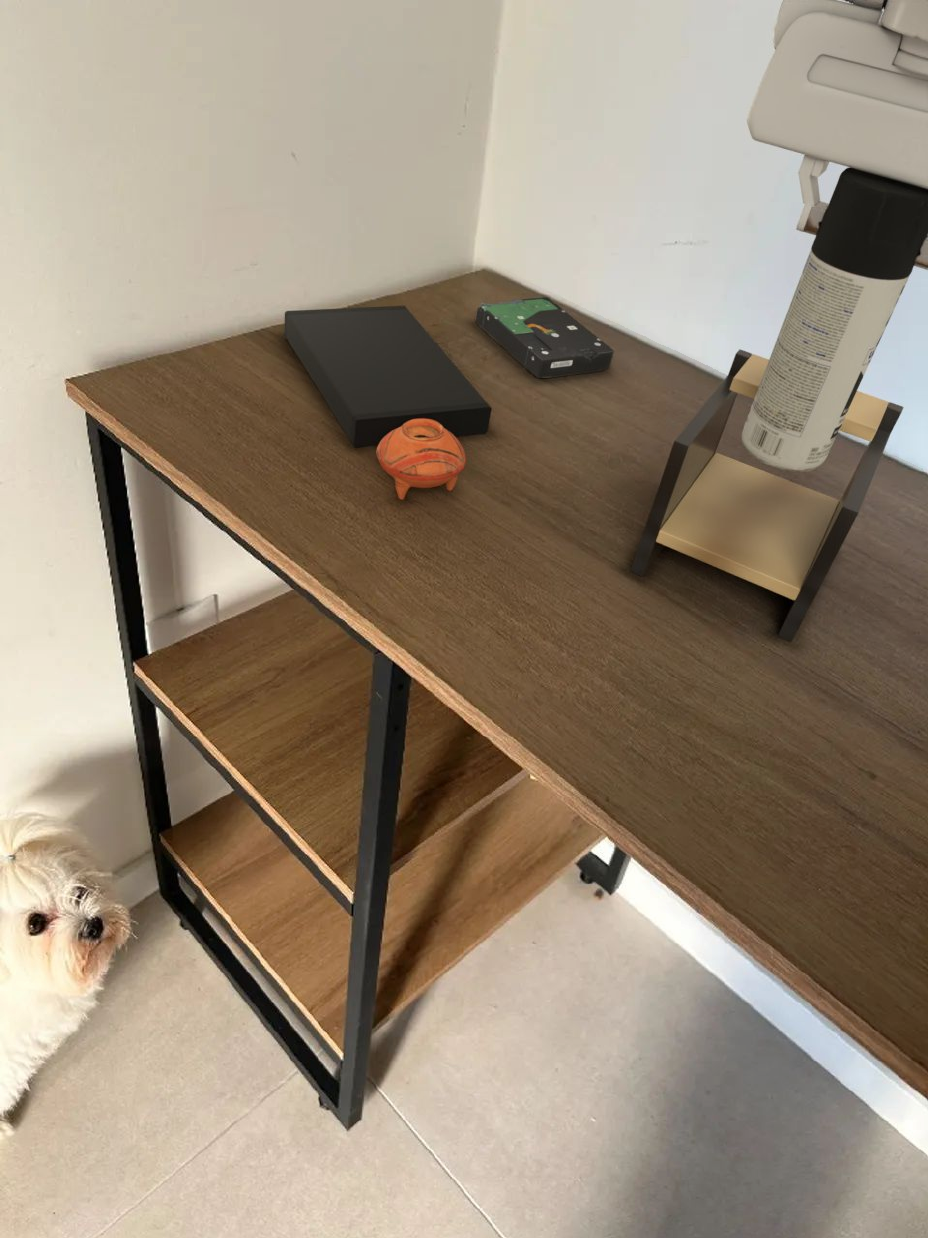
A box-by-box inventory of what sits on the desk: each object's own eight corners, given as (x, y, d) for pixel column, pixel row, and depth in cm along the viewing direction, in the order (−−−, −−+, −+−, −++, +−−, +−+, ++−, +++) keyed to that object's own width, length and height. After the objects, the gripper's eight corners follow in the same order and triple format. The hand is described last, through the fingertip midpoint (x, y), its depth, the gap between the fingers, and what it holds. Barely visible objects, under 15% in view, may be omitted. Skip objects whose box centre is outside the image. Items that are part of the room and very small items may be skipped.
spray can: (833, 480, 70) (964, 206, 57) (746, 468, 70) (858, 188, 57) (811, 435, 75) (926, 173, 62) (729, 423, 75) (828, 157, 62)
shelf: (831, 549, 87) (903, 406, 77) (791, 642, 76) (870, 489, 66) (687, 491, 91) (739, 348, 81) (629, 571, 80) (681, 417, 70)
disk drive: (610, 372, 109) (542, 315, 117) (616, 350, 107) (547, 294, 116) (537, 382, 104) (472, 322, 113) (542, 359, 102) (476, 300, 111)
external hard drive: (353, 447, 88) (355, 419, 86) (284, 336, 103) (284, 310, 101) (487, 433, 94) (492, 406, 92) (403, 329, 109) (405, 305, 107)
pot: (444, 521, 81) (435, 451, 77) (367, 507, 84) (355, 438, 80) (483, 478, 86) (478, 410, 82) (410, 466, 90) (401, 400, 85)
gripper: (780, -33, 54) (705, 213, 63) (1161, 54, 48) (1018, 311, 57) (805, -36, 58) (731, 194, 67) (1156, 42, 52) (1024, 282, 62)
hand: (866, 248), depth 62 cm, fingers closed on spray can, 6 cm apart
